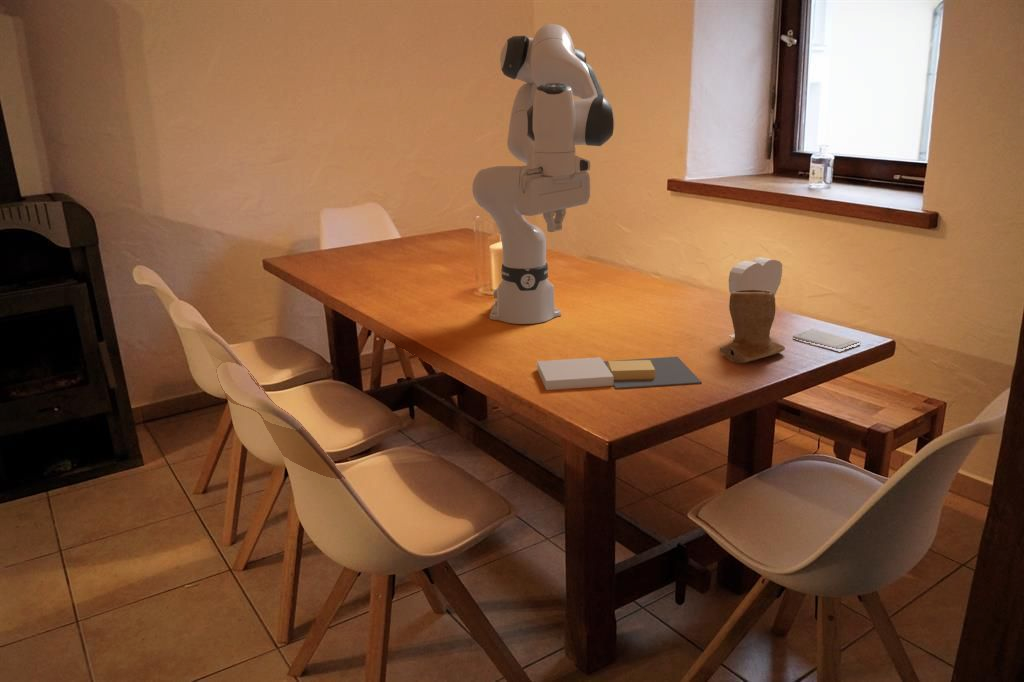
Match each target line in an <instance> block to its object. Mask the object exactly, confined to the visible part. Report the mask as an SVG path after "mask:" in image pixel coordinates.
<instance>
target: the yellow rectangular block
mask: <svg viewBox="0 0 1024 682" xmlns="http://www.w3.org/2000/svg"><path fill="white" fill-rule="evenodd" d="M607 361H608V369H609V370H610V372H611V373H612V375H613V376H614V380H628V379H655V368H654V366H653V365H652V363H651V361H650V360H633V361H615V360H607Z"/></svg>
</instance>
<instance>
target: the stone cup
mask: <svg viewBox="0 0 1024 682" xmlns="http://www.w3.org/2000/svg"><path fill="white" fill-rule="evenodd" d="M775 296H776V294H775V295H774V293H773V292H772V291H770V290H760V289H744V290H736V291H733V292H732V293H731V294H730V295H729V304H728V309H729V313H730V317H731V321H732V325H733V326H732V328H733V332H734V333H733V334H735V337H734V339H733V340H732V342H730V343H728V344H727V345H724V346H721V347H720V348H719V352H720V353H721V354H722V355H723V356H724V357H725V358H726V359H727V360H729V361H730V362H733V363H736V364H743V363H747V362H753V361H756V360H760V359H763V358H766V357H770V356H773V355H776V354H779V353H781V352H783V351H785V349H786V347H785V346H784V345H782V344H779V343H777V342H775V341H773V340H771V337H770V335H771V332H770V330H771V329H772V325H773V323H774V320H775V315H776V297H775Z"/></svg>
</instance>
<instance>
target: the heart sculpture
mask: <svg viewBox="0 0 1024 682" xmlns="http://www.w3.org/2000/svg"><path fill="white" fill-rule="evenodd" d="M782 275H783V263H782V262H781V261H780V260H778V259H777V260H776V259H773V258H767V257H761V256H760V257H756V258H754V259H753V260H752V261H751V260H742V261H740V262H738V263H737V264H735V265H733V266H732V268H731V270H730V271H729V275H728V290H729V291H728V292H729V293H730V295H731V293H732V292H733V291H736V290H744V289H760V290H770V291H772V292H773V293H774V295H775V296H776V295H777V292H778V289H779V287H780V285H781V280H782ZM729 336H731V337H735V333H732V334H729ZM729 336H728V337H729Z"/></svg>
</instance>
